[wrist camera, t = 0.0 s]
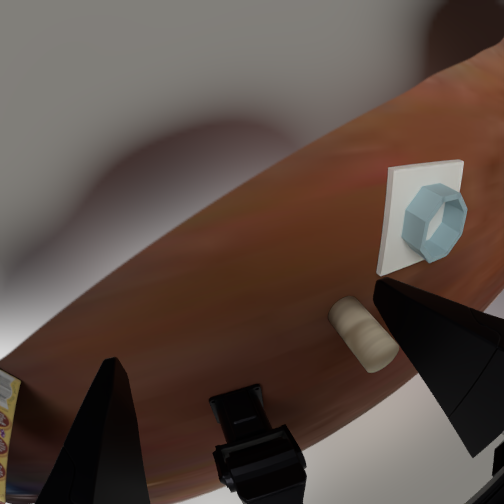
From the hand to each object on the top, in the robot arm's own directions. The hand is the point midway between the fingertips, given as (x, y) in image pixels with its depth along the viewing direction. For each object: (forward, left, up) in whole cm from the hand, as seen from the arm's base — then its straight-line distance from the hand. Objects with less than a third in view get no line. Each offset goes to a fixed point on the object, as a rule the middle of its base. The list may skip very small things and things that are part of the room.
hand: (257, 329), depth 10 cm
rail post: (-17, -14, -15) cm, 27 cm away
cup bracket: (-7, -24, -15) cm, 29 cm away
